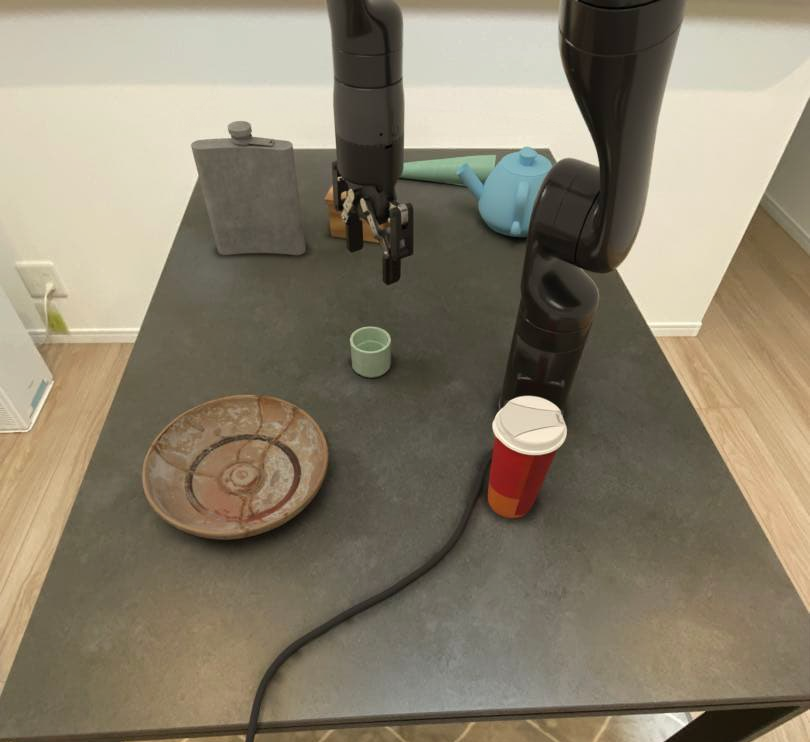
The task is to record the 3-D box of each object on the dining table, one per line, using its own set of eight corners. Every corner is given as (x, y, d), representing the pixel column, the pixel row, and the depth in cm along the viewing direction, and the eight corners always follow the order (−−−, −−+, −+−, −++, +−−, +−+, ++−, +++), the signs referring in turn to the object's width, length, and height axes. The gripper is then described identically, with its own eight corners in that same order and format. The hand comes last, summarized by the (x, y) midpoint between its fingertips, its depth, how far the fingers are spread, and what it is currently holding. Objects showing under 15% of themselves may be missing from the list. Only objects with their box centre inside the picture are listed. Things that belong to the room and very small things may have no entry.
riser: (384, 245, 111) (384, 207, 105) (327, 237, 112) (324, 199, 106) (397, 214, 117) (398, 176, 111) (343, 206, 118) (340, 169, 112)
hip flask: (216, 255, 108) (184, 131, 91) (219, 242, 110) (189, 119, 94) (305, 255, 109) (289, 132, 92) (306, 242, 111) (291, 120, 94)
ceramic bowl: (365, 458, 82) (363, 433, 78) (257, 587, 71) (249, 566, 67) (232, 396, 89) (224, 369, 84) (115, 506, 77) (99, 481, 73)
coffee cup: (536, 475, 81) (562, 391, 69) (546, 524, 77) (576, 445, 64) (474, 475, 81) (490, 392, 69) (481, 526, 77) (498, 446, 64)
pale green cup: (385, 382, 91) (385, 355, 87) (347, 376, 91) (345, 349, 87) (394, 356, 94) (394, 329, 90) (357, 350, 95) (355, 323, 91)
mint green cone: (365, 138, 122) (496, 149, 120) (366, 167, 127) (492, 178, 125) (360, 151, 119) (495, 162, 117) (361, 180, 124) (491, 191, 122)
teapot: (554, 256, 110) (572, 184, 99) (446, 244, 111) (452, 172, 101) (557, 200, 121) (572, 130, 110) (458, 190, 122) (464, 120, 111)
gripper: (305, 108, 66) (320, 248, 80) (376, 161, 60) (379, 303, 74) (362, 93, 69) (367, 231, 82) (436, 142, 63) (428, 283, 76)
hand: (372, 265), depth 78 cm, fingers open, 8 cm apart
